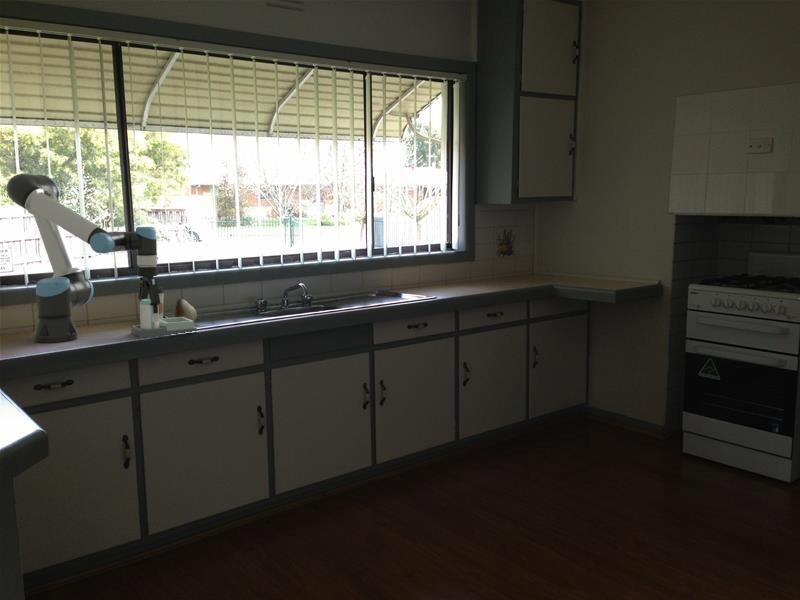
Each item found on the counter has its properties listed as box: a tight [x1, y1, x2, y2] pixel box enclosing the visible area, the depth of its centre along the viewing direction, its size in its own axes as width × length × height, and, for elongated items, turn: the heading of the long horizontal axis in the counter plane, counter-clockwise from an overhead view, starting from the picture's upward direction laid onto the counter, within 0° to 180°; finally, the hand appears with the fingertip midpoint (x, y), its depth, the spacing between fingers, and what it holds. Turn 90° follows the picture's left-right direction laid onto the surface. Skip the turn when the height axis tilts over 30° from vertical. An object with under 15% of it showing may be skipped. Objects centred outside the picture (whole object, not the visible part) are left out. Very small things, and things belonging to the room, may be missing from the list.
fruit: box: [173, 297, 198, 322], centre depth 304 cm, size 10×9×12 cm
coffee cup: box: [147, 286, 165, 319], centre depth 315 cm, size 8×8×15 cm
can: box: [139, 299, 159, 330], centre depth 280 cm, size 7×7×12 cm
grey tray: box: [130, 317, 198, 339], centre depth 284 cm, size 22×14×5 cm, turn 126°
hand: (149, 319), depth 281 cm, fingers open, 13 cm apart
